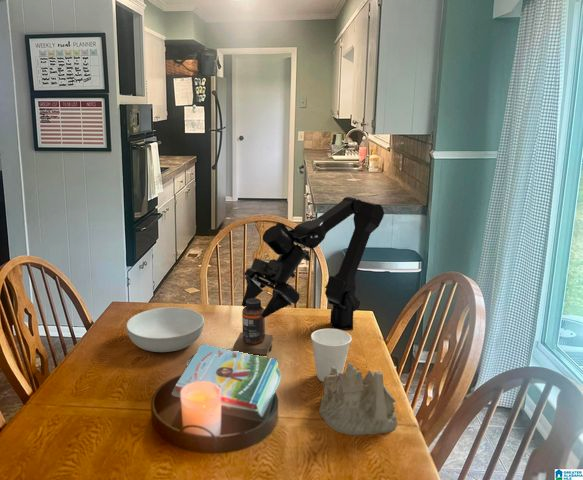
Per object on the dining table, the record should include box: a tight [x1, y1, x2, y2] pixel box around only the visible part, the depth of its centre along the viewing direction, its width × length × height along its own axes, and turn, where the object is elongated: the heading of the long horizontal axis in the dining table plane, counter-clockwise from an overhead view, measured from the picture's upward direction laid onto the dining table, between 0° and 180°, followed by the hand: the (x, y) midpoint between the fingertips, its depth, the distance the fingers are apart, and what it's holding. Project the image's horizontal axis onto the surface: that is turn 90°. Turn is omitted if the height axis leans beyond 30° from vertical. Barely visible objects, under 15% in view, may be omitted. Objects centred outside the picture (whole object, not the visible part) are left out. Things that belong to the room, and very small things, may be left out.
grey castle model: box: [319, 362, 398, 436], centre depth 113 cm, size 16×16×15 cm
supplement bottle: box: [241, 297, 266, 344], centre depth 138 cm, size 6×6×11 cm
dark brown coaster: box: [232, 331, 274, 357], centre depth 140 cm, size 9×9×4 cm
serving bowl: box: [125, 306, 205, 353], centre depth 144 cm, size 21×21×7 cm
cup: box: [310, 328, 353, 383], centre depth 128 cm, size 10×10×11 cm
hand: (252, 311), depth 137 cm, fingers open, 9 cm apart
